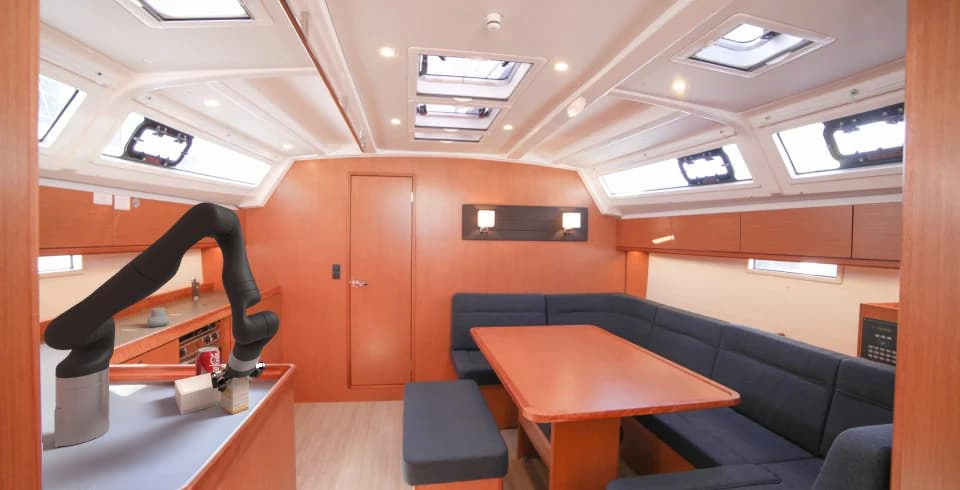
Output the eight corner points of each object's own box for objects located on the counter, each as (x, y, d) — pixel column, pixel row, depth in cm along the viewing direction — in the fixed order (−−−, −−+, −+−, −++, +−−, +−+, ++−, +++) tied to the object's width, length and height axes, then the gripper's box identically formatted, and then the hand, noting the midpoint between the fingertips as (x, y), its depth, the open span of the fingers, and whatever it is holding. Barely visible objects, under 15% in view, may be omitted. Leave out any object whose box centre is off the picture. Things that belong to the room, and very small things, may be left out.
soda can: (206, 386, 120) (206, 352, 120) (190, 384, 121) (190, 351, 121) (225, 378, 127) (225, 346, 127) (209, 376, 128) (209, 345, 128)
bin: (180, 415, 101) (181, 395, 101) (174, 399, 111) (174, 380, 110) (237, 399, 112) (237, 381, 111) (227, 385, 121) (227, 369, 121)
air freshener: (169, 326, 193) (169, 308, 193) (149, 329, 187) (149, 310, 187) (166, 322, 200) (166, 305, 200) (147, 325, 194) (147, 307, 194)
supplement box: (249, 408, 106) (250, 366, 106) (231, 415, 102) (232, 371, 102) (237, 401, 110) (238, 361, 110) (219, 407, 106) (220, 365, 106)
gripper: (269, 342, 106) (257, 369, 114) (211, 353, 95) (202, 382, 104) (274, 363, 102) (262, 390, 111) (215, 377, 92) (206, 405, 100)
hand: (233, 386), depth 107 cm, fingers closed on supplement box, 5 cm apart
